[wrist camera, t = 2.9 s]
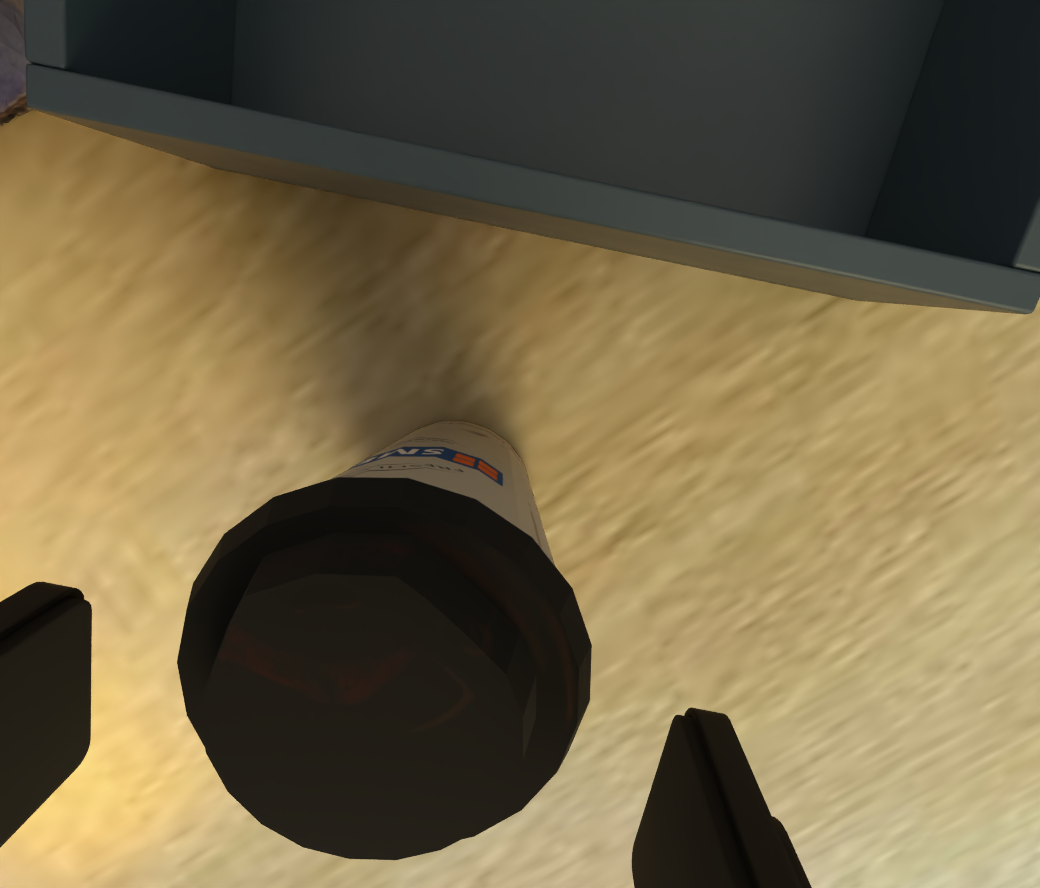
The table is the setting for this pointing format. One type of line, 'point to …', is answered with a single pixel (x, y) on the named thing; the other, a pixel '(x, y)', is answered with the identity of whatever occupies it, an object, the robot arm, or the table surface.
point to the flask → (12, 61)
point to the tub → (609, 122)
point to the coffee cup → (389, 651)
